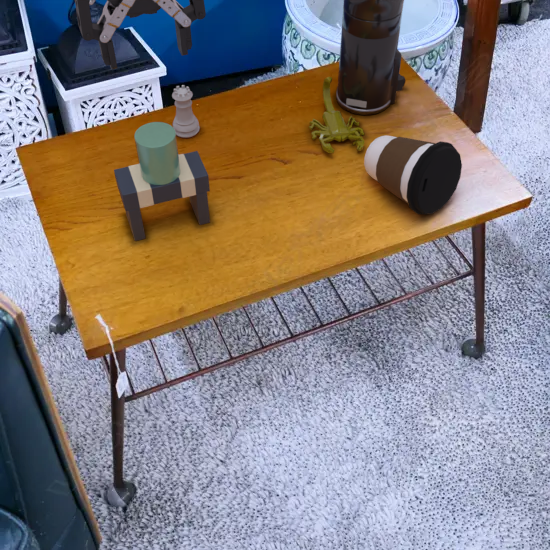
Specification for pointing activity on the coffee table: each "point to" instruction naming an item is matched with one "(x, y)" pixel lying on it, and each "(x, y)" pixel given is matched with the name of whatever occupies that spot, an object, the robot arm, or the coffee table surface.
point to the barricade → (164, 191)
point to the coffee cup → (415, 170)
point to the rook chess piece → (184, 113)
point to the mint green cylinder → (157, 153)
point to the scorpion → (335, 124)
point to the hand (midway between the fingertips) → (148, 58)
